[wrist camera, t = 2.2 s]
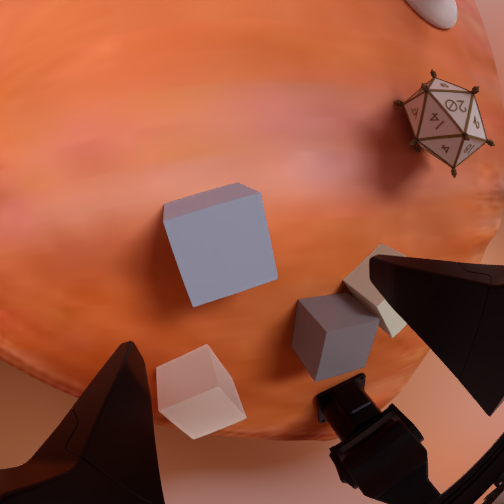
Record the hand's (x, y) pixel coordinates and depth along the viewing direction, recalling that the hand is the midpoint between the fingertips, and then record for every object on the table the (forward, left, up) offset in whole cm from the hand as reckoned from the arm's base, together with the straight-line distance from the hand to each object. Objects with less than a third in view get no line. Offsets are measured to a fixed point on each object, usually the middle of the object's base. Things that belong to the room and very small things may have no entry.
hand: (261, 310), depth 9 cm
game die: (+5, -20, -11) cm, 23 cm away
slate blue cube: (0, 0, -11) cm, 11 cm away
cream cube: (-12, +5, -11) cm, 17 cm away
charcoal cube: (-11, -7, -11) cm, 17 cm away
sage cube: (-9, -13, -11) cm, 19 cm away
